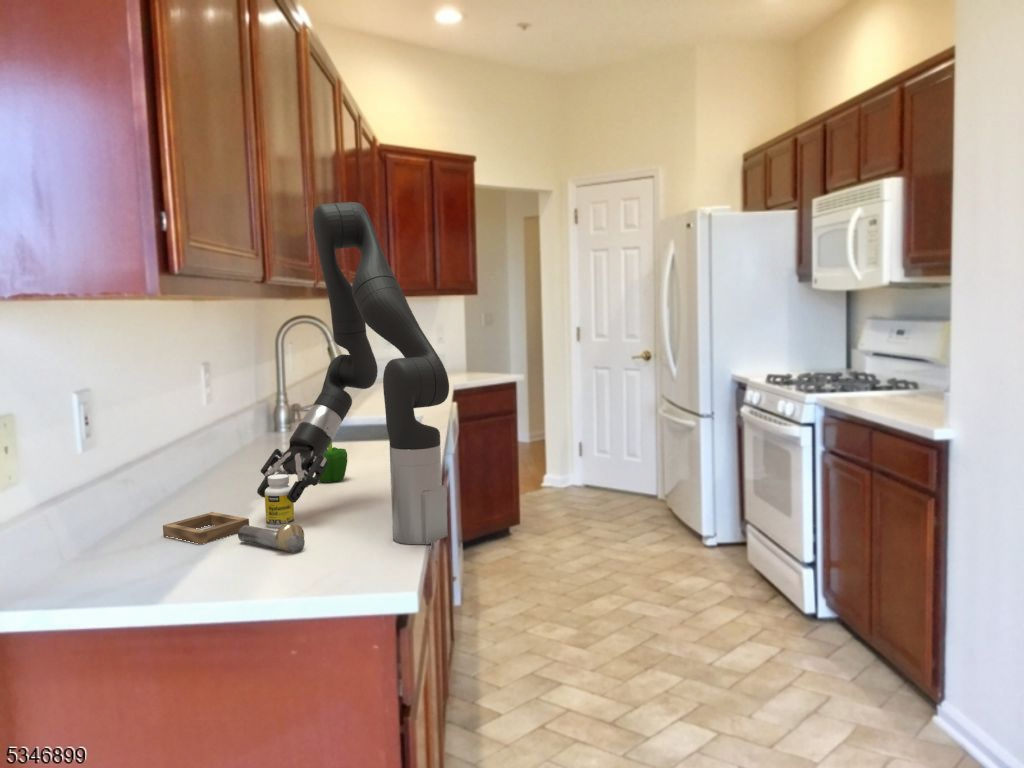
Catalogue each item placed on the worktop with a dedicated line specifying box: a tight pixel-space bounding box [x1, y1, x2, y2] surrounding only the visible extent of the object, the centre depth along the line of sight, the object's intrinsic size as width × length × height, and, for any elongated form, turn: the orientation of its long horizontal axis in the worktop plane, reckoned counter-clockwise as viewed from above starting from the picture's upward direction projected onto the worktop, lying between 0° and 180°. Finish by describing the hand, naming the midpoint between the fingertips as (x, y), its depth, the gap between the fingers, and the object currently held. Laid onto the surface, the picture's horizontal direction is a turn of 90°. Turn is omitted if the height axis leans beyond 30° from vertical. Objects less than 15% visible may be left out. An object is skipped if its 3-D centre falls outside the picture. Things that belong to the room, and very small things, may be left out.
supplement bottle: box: [264, 473, 295, 529], centre depth 155 cm, size 5×5×10 cm
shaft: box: [237, 523, 306, 554], centre depth 140 cm, size 14×5×5 cm, turn 58°
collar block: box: [162, 511, 250, 545], centre depth 150 cm, size 11×11×2 cm
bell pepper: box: [319, 441, 348, 483], centre depth 194 cm, size 8×8×10 cm
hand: (275, 497), depth 154 cm, fingers open, 8 cm apart
